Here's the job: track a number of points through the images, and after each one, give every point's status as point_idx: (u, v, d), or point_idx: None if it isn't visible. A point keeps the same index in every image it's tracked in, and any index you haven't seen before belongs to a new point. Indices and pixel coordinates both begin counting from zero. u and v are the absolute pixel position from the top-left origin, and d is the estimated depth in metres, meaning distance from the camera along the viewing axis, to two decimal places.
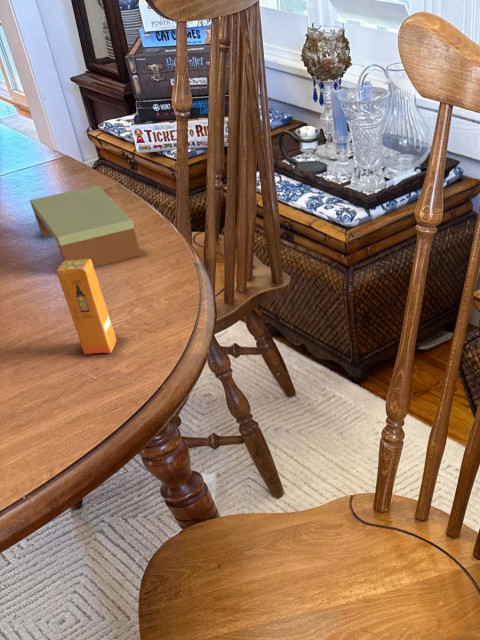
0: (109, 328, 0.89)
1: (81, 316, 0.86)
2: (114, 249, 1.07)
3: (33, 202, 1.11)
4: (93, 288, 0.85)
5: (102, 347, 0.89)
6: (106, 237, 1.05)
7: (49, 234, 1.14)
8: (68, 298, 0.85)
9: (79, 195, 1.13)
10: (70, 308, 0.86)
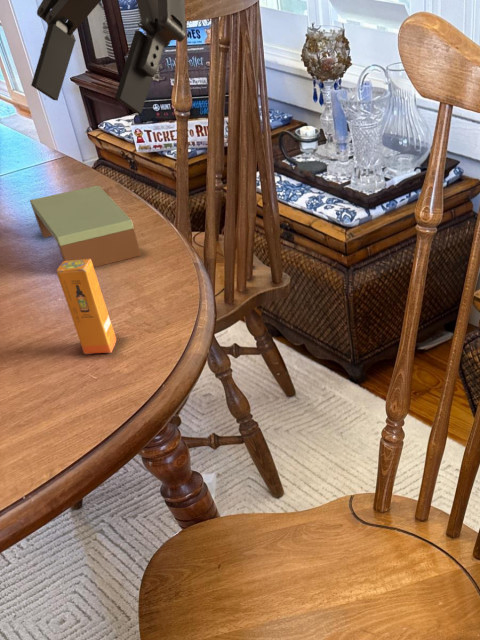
0: (109, 328, 0.89)
1: (81, 316, 0.86)
2: (114, 249, 1.07)
3: (33, 202, 1.11)
4: (93, 288, 0.85)
5: (102, 347, 0.89)
6: (106, 237, 1.05)
7: (49, 234, 1.14)
8: (68, 298, 0.85)
9: (79, 195, 1.13)
10: (70, 308, 0.86)
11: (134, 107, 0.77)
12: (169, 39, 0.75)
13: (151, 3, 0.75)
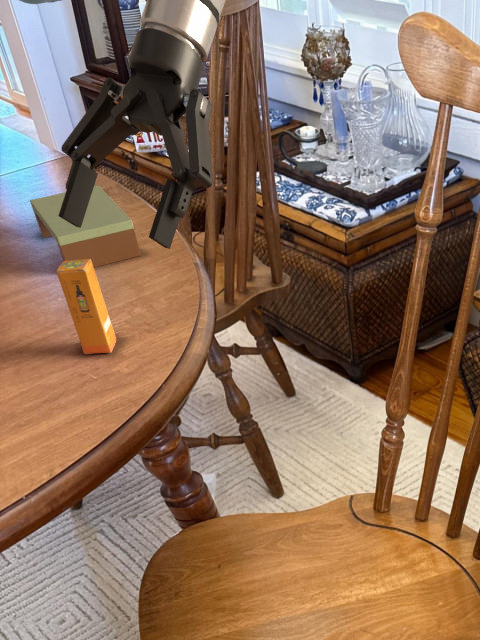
0: (109, 328, 0.89)
1: (81, 316, 0.86)
2: (114, 249, 1.07)
3: (33, 202, 1.11)
4: (93, 288, 0.85)
5: (102, 347, 0.89)
6: (106, 237, 1.05)
7: (49, 234, 1.14)
8: (68, 298, 0.85)
9: None
10: (70, 308, 0.86)
11: (165, 244, 0.85)
12: (198, 186, 0.84)
13: (181, 153, 0.84)
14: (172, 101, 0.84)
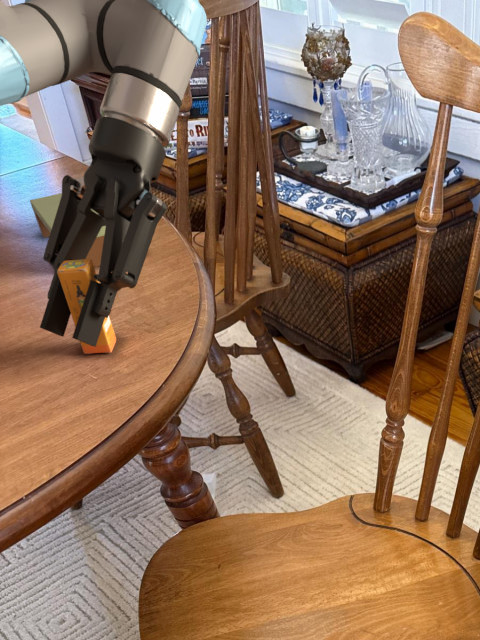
0: (109, 328, 0.89)
1: None
2: None
3: (33, 202, 1.11)
4: None
5: (102, 347, 0.89)
6: None
7: (49, 234, 1.14)
8: (68, 298, 0.85)
9: None
10: (70, 308, 0.86)
11: (89, 343, 0.86)
12: (122, 287, 0.85)
13: (114, 254, 0.84)
14: (132, 189, 0.83)
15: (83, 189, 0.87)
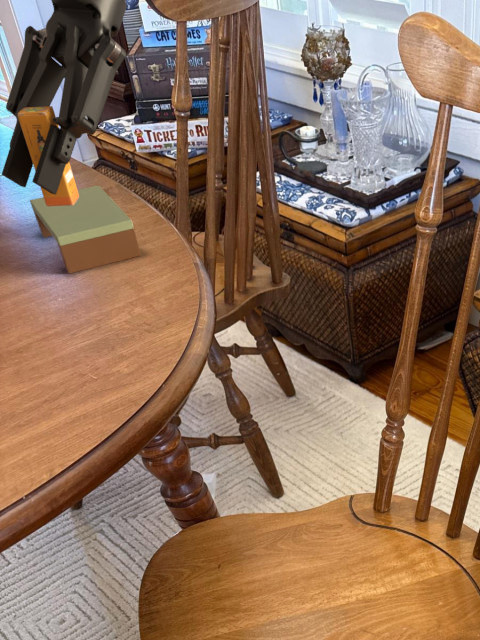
0: (71, 181, 0.91)
1: None
2: (114, 249, 1.07)
3: (33, 202, 1.11)
4: None
5: (64, 199, 0.91)
6: (106, 237, 1.05)
7: (49, 234, 1.14)
8: (29, 144, 0.87)
9: (79, 195, 1.13)
10: (31, 155, 0.87)
11: (50, 189, 0.87)
12: (81, 133, 0.86)
13: (74, 99, 0.86)
14: (91, 35, 0.85)
15: (45, 40, 0.89)
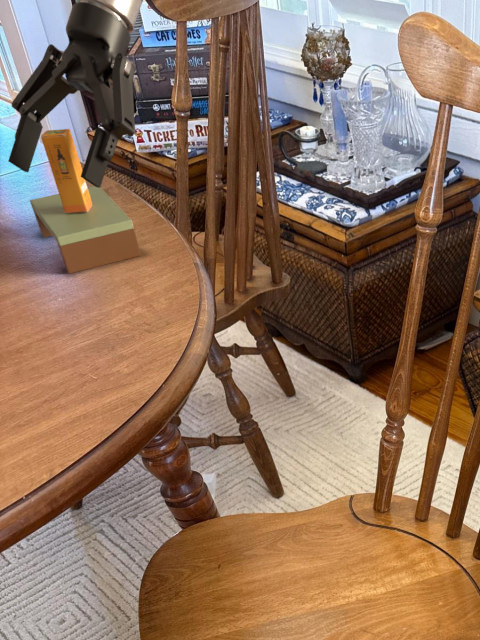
0: (86, 191, 1.07)
1: (62, 177, 1.04)
2: (114, 249, 1.07)
3: (33, 202, 1.11)
4: (71, 153, 1.03)
5: (80, 207, 1.07)
6: (106, 237, 1.05)
7: (49, 234, 1.14)
8: (51, 161, 1.03)
9: None
10: (52, 170, 1.04)
11: (95, 183, 1.01)
12: (122, 134, 1.00)
13: (108, 107, 1.00)
14: (101, 63, 1.01)
15: (61, 62, 1.05)
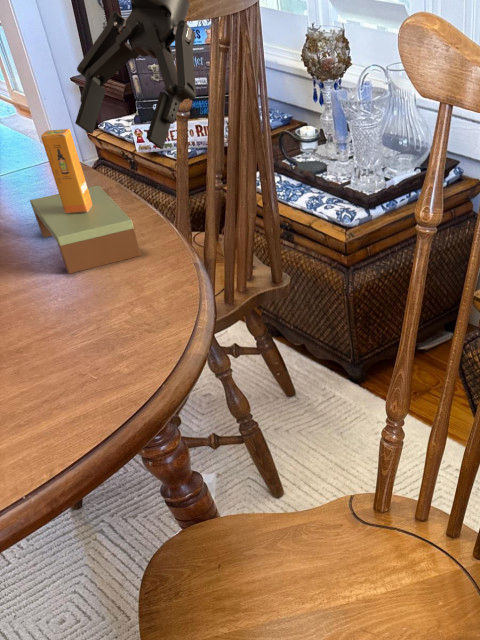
0: (86, 191, 1.07)
1: (62, 177, 1.04)
2: (114, 249, 1.07)
3: (33, 202, 1.11)
4: (71, 153, 1.03)
5: (80, 207, 1.07)
6: (106, 237, 1.05)
7: (49, 234, 1.14)
8: (51, 161, 1.03)
9: None
10: (52, 170, 1.04)
11: (158, 144, 1.09)
12: (184, 98, 1.08)
13: (171, 72, 1.07)
14: (164, 30, 1.07)
15: (123, 28, 1.11)
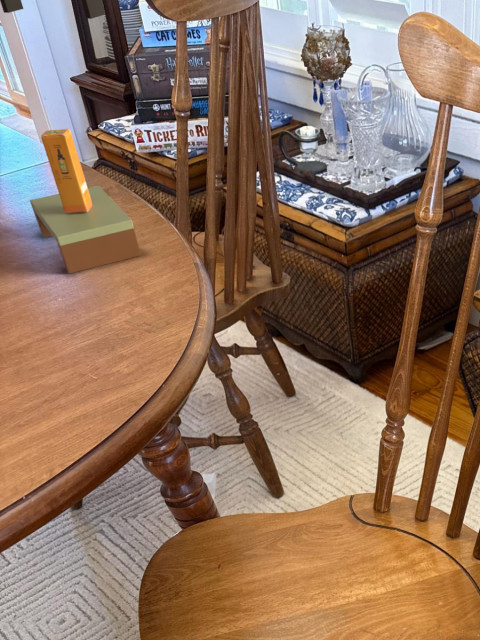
0: (86, 191, 1.07)
1: (62, 177, 1.04)
2: (114, 249, 1.07)
3: (33, 202, 1.11)
4: (71, 153, 1.03)
5: (80, 207, 1.07)
6: (106, 237, 1.05)
7: (49, 234, 1.14)
8: (51, 161, 1.03)
9: None
10: (52, 170, 1.04)
11: (100, 14, 0.97)
12: None
13: None
14: None
15: None
